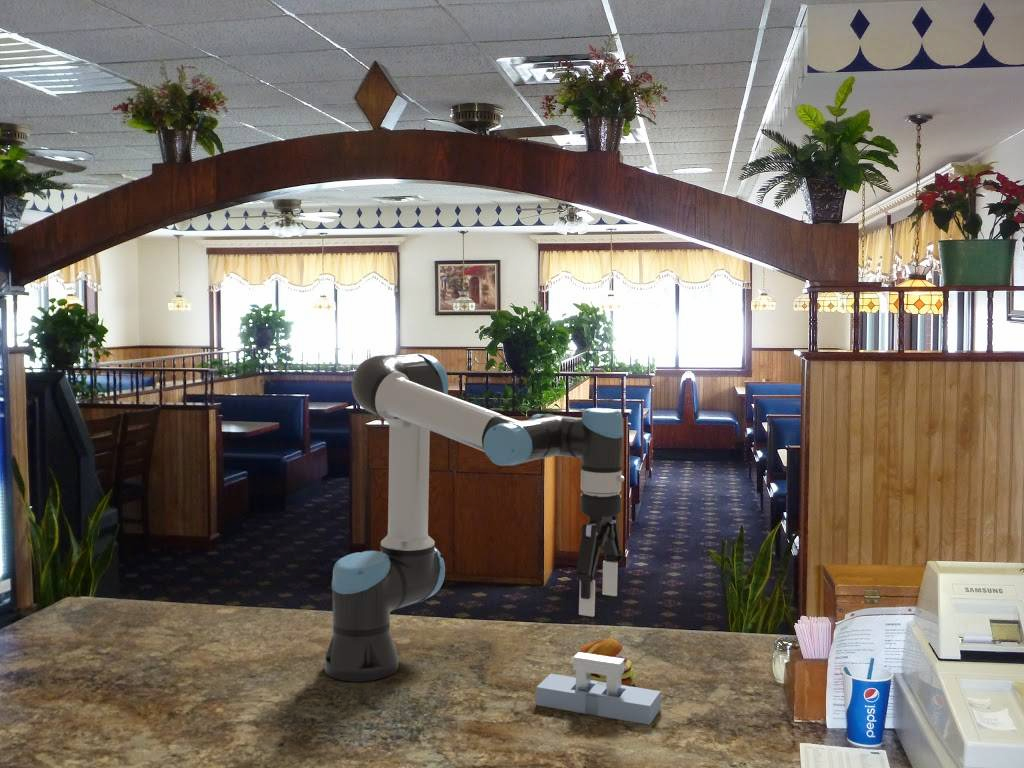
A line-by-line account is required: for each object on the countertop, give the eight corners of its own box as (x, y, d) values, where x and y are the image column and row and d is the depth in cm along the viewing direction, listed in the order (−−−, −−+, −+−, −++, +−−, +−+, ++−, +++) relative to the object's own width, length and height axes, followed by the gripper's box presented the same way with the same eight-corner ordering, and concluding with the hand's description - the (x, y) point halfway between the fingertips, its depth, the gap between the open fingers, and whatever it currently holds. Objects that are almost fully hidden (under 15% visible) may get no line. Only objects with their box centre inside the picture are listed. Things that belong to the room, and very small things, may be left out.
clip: (572, 706, 190) (573, 657, 189) (578, 700, 193) (578, 652, 192) (618, 714, 187) (619, 664, 186) (623, 708, 189) (624, 658, 188)
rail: (536, 704, 191) (536, 686, 190) (550, 690, 197) (550, 673, 197) (649, 724, 182) (649, 706, 182) (660, 709, 189) (660, 691, 189)
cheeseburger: (635, 694, 196) (623, 644, 195) (582, 702, 198) (570, 653, 198) (639, 674, 206) (628, 627, 205) (588, 682, 208) (577, 636, 207)
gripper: (599, 507, 173) (596, 627, 175) (639, 482, 196) (636, 589, 198) (558, 502, 176) (556, 621, 178) (602, 479, 199) (600, 584, 201)
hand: (598, 604), depth 188 cm, fingers open, 13 cm apart
